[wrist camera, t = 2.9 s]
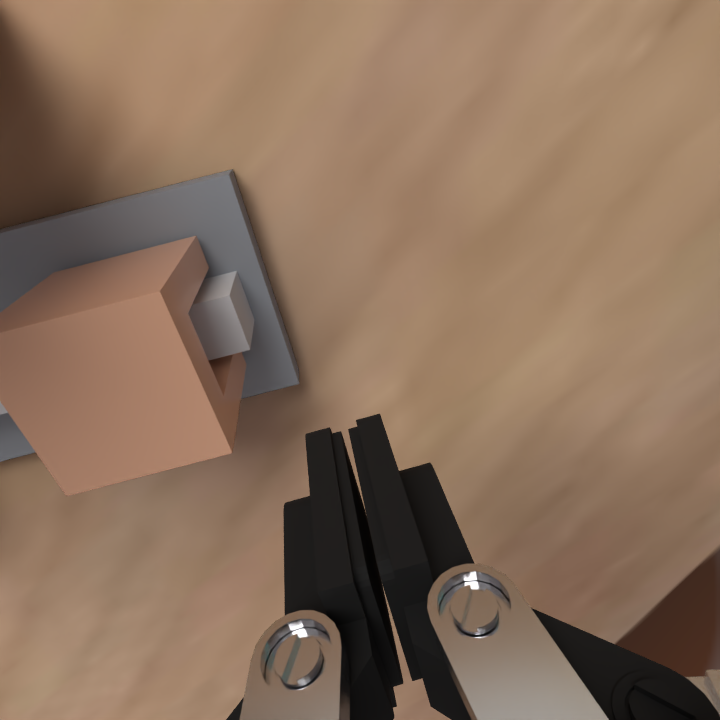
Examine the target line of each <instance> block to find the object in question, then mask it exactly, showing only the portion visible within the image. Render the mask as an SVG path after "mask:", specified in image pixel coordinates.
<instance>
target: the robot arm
mask: <svg viewBox="0 0 720 720" xmlns="http://www.w3.org/2000/svg"><path fill="white" fill-rule="evenodd" d="M356 422H357V426H358V427H354V428H351V429H348V430H349V435H350V440H351V444H352V449H353V454H354V458H355V463H356V468H357V472H358V477H359V482H360V486H361V491H362V496H363V500H364V505H365V509H364V505H363V502H362V499H361V495H360V492H359V489H358V486H357V482H356V479H355V476H354V472H353V469H352V466H351V462H350V459H349V456H348V452H347V449H346V446H345V443H344V439H343V436H342V433H341V431H340V432H336V433H333V434H332V431H331V429H330V427H329V428H326V429H322V430H318V431H315V432H311V433H307V434H306V450H307V463H308V475H309V488H310V496H308V497H304V498H301V499H297V500H293V501H290V502H286V503H285V505H284V583H285V616H283V617H282V618H280V619H278V620H277V621H275V622H274V623H273V624H272V625H271V626H270V627H269V628H268V629H267V630H266V631H265V632H264V633H263V635H262V636H261V638H260V639H259V641H258V643H257V644H256V646H255V649H254V652H253V655H252V658H251V663H250V668H249V673H248V678H247V684H246V689H245V694H244V698H243V699H242V700H241V702H240V703H239V704H238V705H237V707H236V708H235V709H234V710H233V712H232V713H231V714H230V716H229V717H228V718H227V719H226V720H393V719H394V712H393V707H397V705H396V700H395V694H394V689H393V687H394V686H397V685H400V684H403V678H402V673H401V669H400V664H399V659H398V655H397V650H396V645H395V641H394V636H393V632H392V627H391V622H390V618H389V613H388V608H387V604H386V599H385V595H384V591H385V594H386V597H387V600H388V603H389V607H390V610H391V613H392V616H393V620H394V623H395V626H396V629H397V633H398V636H399V639H400V642H401V646H402V649H403V652H404V655H405V658H406V662H407V665H408V668H409V671H410V675H411V678H412V681H414V680H418V679H421V678H423V681H424V685H425V688H426V692H427V695H428V698H429V702H430V705H431V707H433V708H434V709H436V710H437V711H439V712H440V713H442V714H444V715H445V716H447V717H448V718H450V719H451V720H720V670H706V673H705V677H684V676H682V675H680V674H678V673H677V672H675V671H673V670H671V669H669V668H667V667H665V666H663V665H661V664H658V663H656V662H654V661H651V660H649V659H647V658H644V657H642V656H640V655H637V654H635V653H633V652H631V651H628V650H626V649H624V648H621V647H619V646H617V645H615V644H612V643H610V642H608V641H606V640H603V639H601V638H599V637H596V636H594V635H592V634H590V633H587V632H585V631H583V630H580V629H578V628H576V627H573V626H571V625H569V624H567V623H564V622H562V621H560V620H557V619H555V618H553V617H551V616H548V615H546V614H544V613H541V612H539V611H537V610H535V609H532V608H531V607H530V606H529V604H528V603H527V602H526V600H525V599H524V597H523V596H522V594H521V593H520V592H519V590H518V589H517V587H516V586H515V584H514V583H513V582H512V581H511V580H510V579H509V578H508V577H507V576H506V575H505V574H504V573H502V572H500V571H498V570H497V569H495V568H493V567H490V566H486V565H482V564H474V562H473V559H472V557H471V555H470V552H469V550H468V548H467V545H466V543H465V541H464V538H463V536H462V534H461V531H460V529H459V527H458V524H457V522H456V520H455V517H454V515H453V513H452V510H451V508H450V506H449V503H448V501H447V499H446V496H445V494H444V492H443V489H442V487H441V484H440V482H439V480H438V477H437V475H436V473H435V470H434V468H433V466H432V464H431V463H427V464H423V465H420V466H416V467H412V468H409V469H405V470H402V471H399V470H398V467H397V464H396V461H395V458H394V455H393V452H392V449H391V446H390V443H389V440H388V437H387V434H386V431H385V428H384V425H383V422H382V419H381V416H380V414H377V415H373V416H369V417H366V418H362V419H358V420H356ZM365 510H366V512H365ZM366 514H367V515H366ZM381 580H382V581H381ZM382 584H383V585H382ZM383 587H384V590H383Z"/></svg>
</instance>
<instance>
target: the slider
mask: <svg viewBox="0 0 720 720" xmlns="http://www.w3.org/2000/svg"><path fill="white" fill-rule="evenodd" d="M208 269H209V266H208V264H207V261H206V259H205V256H204V254H203V251H202V248H201V246H200V243H199V241H198V238H197V236H193V237H189V238H185V239H181V240H177V241H173V242H170V243H166V244H162V245H158V246H154V247H150V248H146V249H142V250H139V251H135V252H131V253H127V254H123V255H119V256H115V257H112V258H108V259H104V260H100V261H96V262H92V263H88V264H84V265H81V266H77V267H73V268H69V269H65V270H61V271H57V272H54V273H52V274H51V275H49V276H48V277H47V278H46V279H44V280H43V281H42V282H40V283H39V284H38V285H36V286H35V287H34V288H32V289H31V290H30V291H28V292H27V293H26V294H24V295H23V296H22V297H20V298H19V299H18V300H16V301H15V302H14V303H12V304H11V305H10V306H8V307H7V308H6V309H4V310H3V311H2V312H0V402H1V403H2V405H3V406H4V407H5V409H6V410H7V412H8V413H9V415H10V416H11V418H12V419H13V420H14V422H15V423H16V425H17V426H18V428H19V429H20V430H21V432H22V433H23V435H24V436H25V438H26V439H27V440H28V442H29V443H30V445H31V446H32V448H33V449H34V450H35V452H36V453H37V455H38V456H39V458H40V459H41V460H42V462H43V463H44V465H45V466H46V468H47V469H48V470H49V472H50V473H51V475H52V476H53V478H54V479H55V480H56V482H57V483H58V485H59V486H60V488H61V489H62V490H63V492H64V493H65V495H66V496H70V495H74V494H77V493H81V492H85V491H89V490H93V489H97V488H100V487H104V486H108V485H112V484H116V483H120V482H123V481H127V480H131V479H135V478H139V477H143V476H146V475H150V474H154V473H158V472H162V471H166V470H169V469H173V468H177V467H181V466H185V465H189V464H192V463H196V462H200V461H204V460H208V459H212V458H215V457H219V456H223V455H227V454H231V453H233V447H234V440H235V434H236V428H237V421H238V415H239V408H240V402H241V396H242V389H243V383H244V377H245V370H246V362H245V359H244V357H243V354H242V352H239V353H236V354H232V355H228V356H224V357H220V358H216V359H212V360H209V361H208V359H207V356H206V354H205V352H204V349H203V347H202V345H201V342H200V340H199V338H198V336H197V333H196V331H195V329H194V326H193V324H192V322H191V319H190V317H189V315H188V312H189V310H190V308H191V306H192V304H193V301H194V299H195V297H196V295H197V293H198V291H199V288H200V286H201V284H202V282H203V280H204V278H205V275H206V273H207V271H208Z"/></svg>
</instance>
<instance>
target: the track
mask: <svg viewBox="0 0 720 720" xmlns="http://www.w3.org/2000/svg"><path fill="white" fill-rule="evenodd" d="M193 236H197V238H198V241H199V243H200V246H201V248H202V251H203V254H204V256H205V259H206V261H207V264H208V266H209V269H208V271H207V273H206V275H205V278H204V280H203V282H202V284H201V286H200V288H199V291H198V293H197V295H196V297H195V299H194V301H193V304H192V306H191V308H190V310H189V312H188V315H189V317H190V319H191V322H192V324H193V326H194V329H195V331H196V333H197V336H198V338H199V340H200V342H201V345H202V347H203V349H204V352H205V354H206V356H207V359H208V361H209V360H212V359H216V358H220V357H224V356H228V355H232V354H236V353H239V352H242V354H243V357H244V359H245V362H246V370H245V377H244V383H243V389H242V396H241V399H243V398H246V397H250V396H254V395H258V394H262V393H266V392H270V391H273V390H277V389H281V388H285V387H289V386H293V385H296V384H299V369H298V366H297V363H296V360H295V357H294V354H293V351H292V348H291V345H290V342H289V339H288V336H287V332H286V329H285V326H284V323H283V320H282V317H281V314H280V311H279V308H278V305H277V302H276V299H275V296H274V293H273V290H272V287H271V284H270V281H269V278H268V275H267V272H266V269H265V266H264V263H263V260H262V257H261V254H260V251H259V248H258V245H257V242H256V239H255V236H254V233H253V230H252V227H251V224H250V221H249V218H248V215H247V212H246V208H245V205H244V202H243V199H242V196H241V193H240V190H239V187H238V184H237V181H236V178H235V175H234V172H233V169H232V170H228V171H224V172H220V173H216V174H212V175H208V176H205V177H201V178H197V179H193V180H189V181H185V182H181V183H177V184H174V185H170V186H166V187H162V188H158V189H154V190H150V191H146V192H143V193H139V194H135V195H131V196H127V197H123V198H119V199H115V200H112V201H108V202H104V203H100V204H96V205H92V206H88V207H84V208H81V209H77V210H73V211H69V212H65V213H61V214H57V215H53V216H50V217H46V218H42V219H38V220H34V221H30V222H26V223H22V224H19V225H15V226H11V227H7V228H3V229H0V312H2V311H3V310H4V309H6V308H7V307H8V306H10V305H11V304H12V303H14V302H15V301H16V300H18V299H19V298H20V297H22V296H23V295H24V294H26V293H27V292H28V291H30V290H31V289H32V288H34V287H35V286H36V285H38V284H39V283H40V282H42V281H43V280H44V279H46V278H47V277H48V276H49V275H51V274H52V273H54V272H57V271H61V270H65V269H69V268H73V267H77V266H81V265H84V264H88V263H92V262H96V261H100V260H104V259H108V258H112V257H115V256H119V255H123V254H127V253H131V252H135V251H139V250H142V249H146V248H150V247H154V246H158V245H162V244H166V243H170V242H173V241H177V240H181V239H185V238H189V237H193ZM31 453H35V450H34V449H33V448H32V446H31V445H30V443H29V442H28V440H27V439H26V438H25V436H24V435H23V433H22V432H21V430H20V429H19V428H18V426H17V425H16V423H15V422H14V420H13V419H12V418H11V416H10V415H9V413H8V412H7V410H6V409H5V407H4V406H3V405H2V403H1V402H0V462H1V461H4V460H8V459H12V458H16V457H20V456H24V455H27V454H31Z"/></svg>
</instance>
